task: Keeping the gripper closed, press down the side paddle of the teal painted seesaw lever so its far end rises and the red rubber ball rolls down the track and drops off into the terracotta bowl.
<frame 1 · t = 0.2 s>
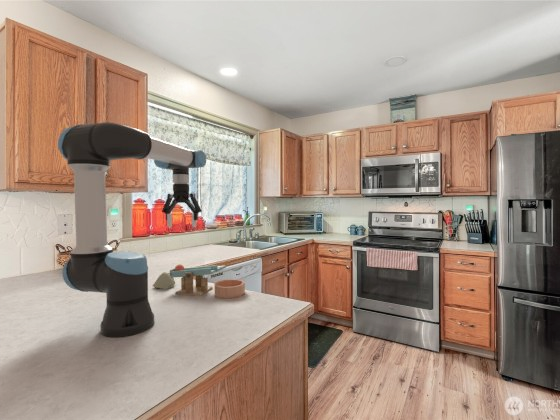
hand: (181, 227, 143), 28 cm above the worktop, fingers open, 13 cm apart
lever: (198, 268, 134), point 9 cm above the worktop, hinge at -7.1°, touching ball
stand: (194, 291, 130), on the worktop
bowl: (229, 293, 126), on the worktop
ball: (180, 273, 132), point 8 cm above the worktop, tilted 19°, touching lever
seashell: (165, 286, 139), on the worktop
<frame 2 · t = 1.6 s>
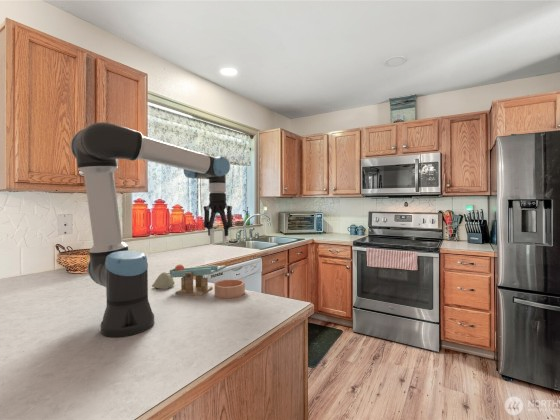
hand: (218, 242, 134), 21 cm above the worktop, fingers open, 6 cm apart
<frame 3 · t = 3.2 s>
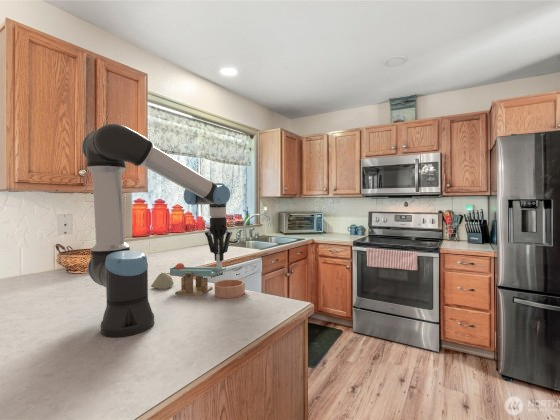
hand: (219, 267, 135), 9 cm above the worktop, fingers closed
lever: (198, 268, 133), point 9 cm above the worktop, hinge at -1.9°, touching ball, gripper
ball: (180, 271, 132), point 8 cm above the worktop, tilted 14°, touching lever
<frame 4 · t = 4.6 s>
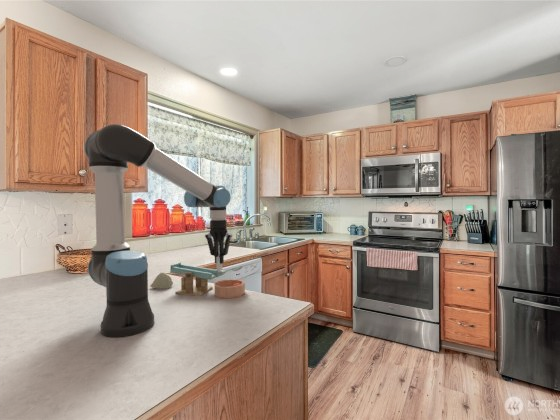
hand: (219, 270, 135), 8 cm above the worktop, fingers closed
lever: (199, 268, 133), point 9 cm above the worktop, hinge at 6.1°, touching gripper
ball: (232, 288, 125), point 2 cm above the worktop, tilted 79°, touching bowl
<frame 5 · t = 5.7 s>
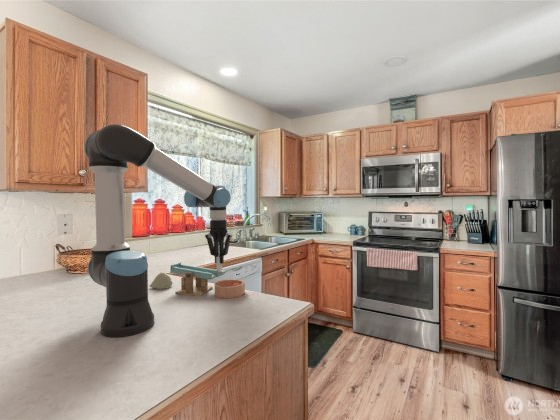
hand: (219, 270, 135), 8 cm above the worktop, fingers closed
ball: (232, 289, 126), point 2 cm above the worktop, tilted 72°, touching bowl
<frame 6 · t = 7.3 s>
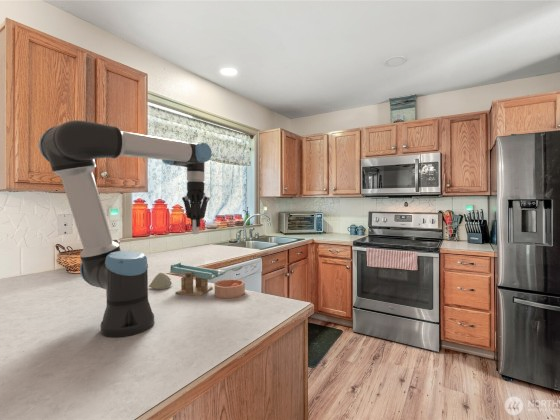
hand: (195, 234, 131), 25 cm above the worktop, fingers closed
lever: (199, 268, 133), point 9 cm above the worktop, hinge at 6.1°
ball: (231, 289, 126), point 2 cm above the worktop, tilted 62°, touching bowl
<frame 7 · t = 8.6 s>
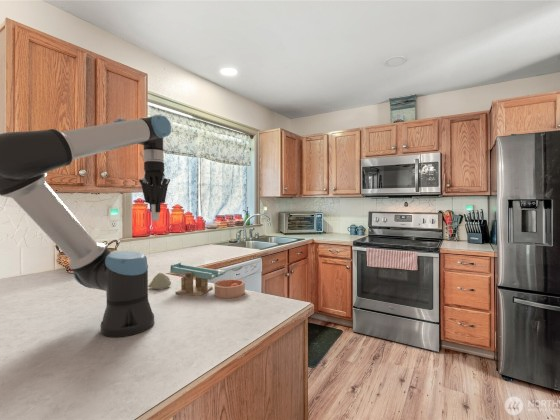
hand: (155, 220, 117), 32 cm above the worktop, fingers closed
ball: (231, 290, 126), point 1 cm above the worktop, tilted 53°, touching bowl
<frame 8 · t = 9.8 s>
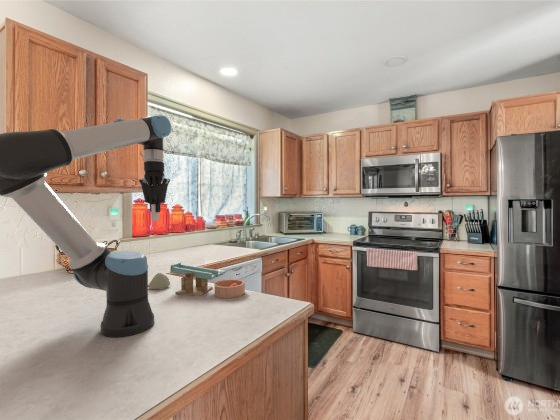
hand: (155, 220, 117), 32 cm above the worktop, fingers closed
ball: (231, 290, 126), point 1 cm above the worktop, tilted 45°, touching bowl
at the end: ball 0.8 cm from the bowl (horizontally); ball point 1.2 cm above the worktop; lever at +6° (first picture: -7°) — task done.
